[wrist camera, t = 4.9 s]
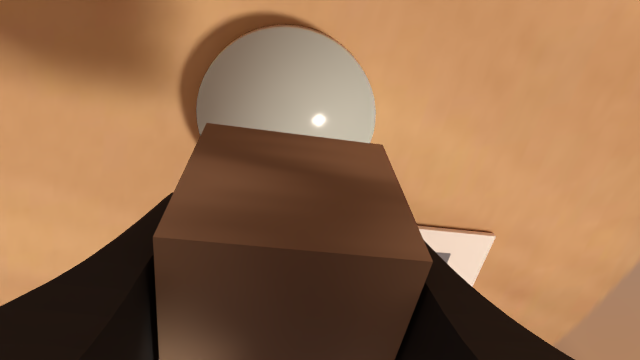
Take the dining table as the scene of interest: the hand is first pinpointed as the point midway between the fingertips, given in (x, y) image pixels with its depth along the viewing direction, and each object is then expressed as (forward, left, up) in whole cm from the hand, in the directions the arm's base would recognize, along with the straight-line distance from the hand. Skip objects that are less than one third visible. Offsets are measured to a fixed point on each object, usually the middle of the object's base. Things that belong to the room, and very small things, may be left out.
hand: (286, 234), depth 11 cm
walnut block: (0, 0, -2) cm, 2 cm away
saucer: (0, 0, -9) cm, 9 cm away
